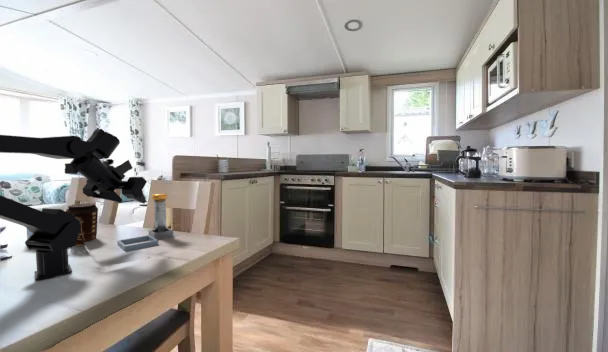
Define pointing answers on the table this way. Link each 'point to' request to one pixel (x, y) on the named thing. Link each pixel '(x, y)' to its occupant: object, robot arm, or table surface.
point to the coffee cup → (85, 221)
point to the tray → (136, 246)
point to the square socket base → (162, 234)
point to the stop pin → (160, 212)
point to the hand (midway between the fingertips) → (133, 201)
